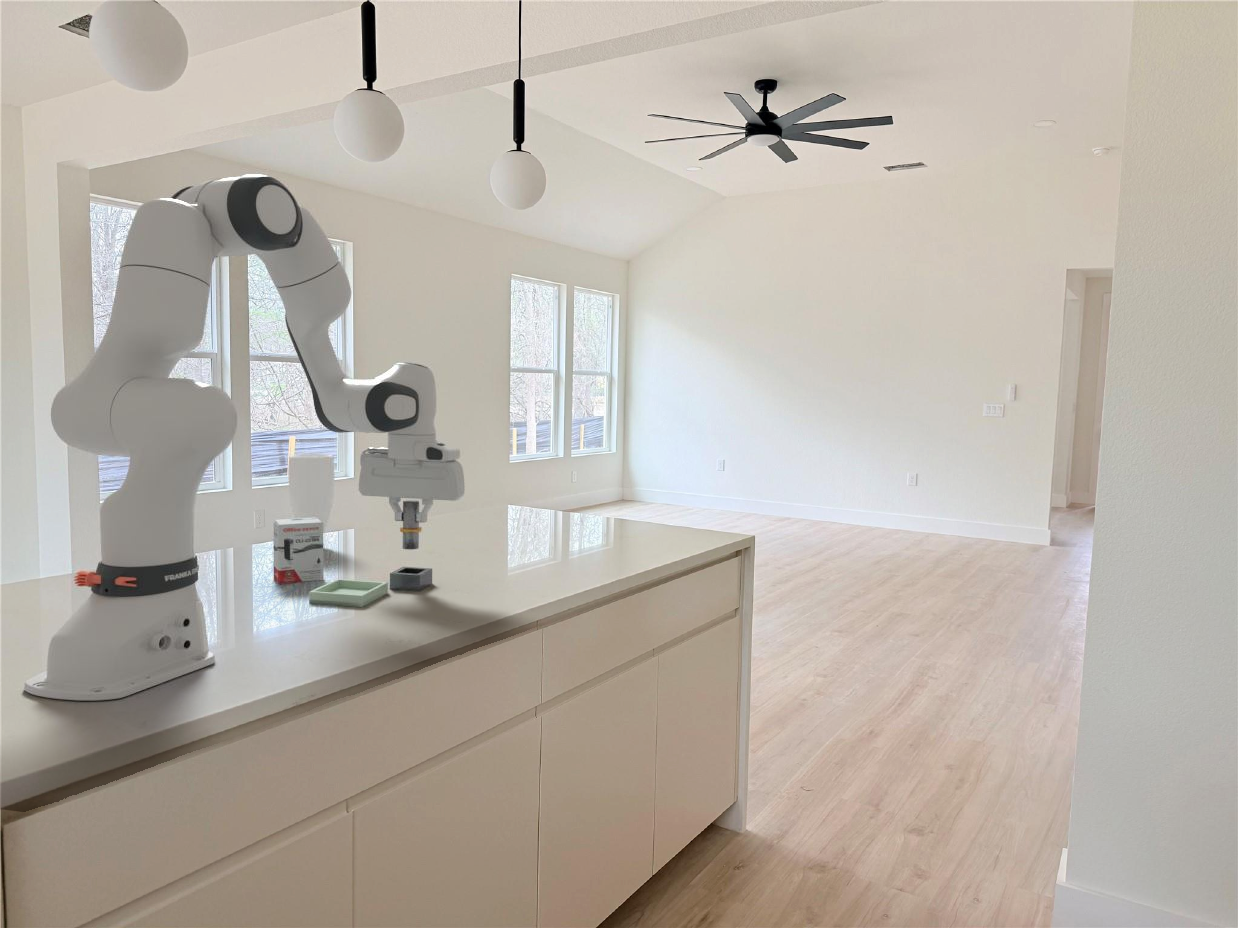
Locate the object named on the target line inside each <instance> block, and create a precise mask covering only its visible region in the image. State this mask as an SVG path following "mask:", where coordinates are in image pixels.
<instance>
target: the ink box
mask: <svg viewBox="0 0 1238 928" xmlns="http://www.w3.org/2000/svg"><path fill="white" fill-rule="evenodd" d="M273 580H275V582H276V583H277V584H279V585H282V584H293V583H295V584H296V583H302V582H312V581H313V582H315V581H323V580H324V533H323V522H322V521H321V520H320V519H318V518H316V517H312V518H297V519H295V518H284V519H282V518H281V519H275V520H274V521H273Z"/></svg>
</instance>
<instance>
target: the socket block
mask: <svg viewBox="0 0 1238 928" xmlns="http://www.w3.org/2000/svg"><path fill="white" fill-rule="evenodd" d="M432 584H433V568H429V567H428V568H427V567H414V566H413V567H412V566H401V567H400V568H397V569H396V570H393V571H391V572H390V573H389V589H390V590H402V591H414V592H416V591H417V592H421V591H422V590H424V589H427V588H428V587H429V586H431V585H432Z"/></svg>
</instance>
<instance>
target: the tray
mask: <svg viewBox="0 0 1238 928" xmlns="http://www.w3.org/2000/svg"><path fill="white" fill-rule="evenodd" d="M388 585H389V583H388V581H387V582H386V581H384V582H383V581H373V580H358V579H357V580H356V579H342V578H336V579H334V580H332V581H330V582H328V583H325V584H324V585H321V586H319V587H316V588H314V589H312V590H310V591H309V592H308V595H309V596H308V602H309V604H317V605H319V604H320V605H331V606H341V607H342V606H344V607H345V606H346V607H358V608H363V607H365V606H366V605H368V604H370V603H373V602H374V601H376V600H377V599H379V598H381V597H383V596H385V595H387V594H389V586H388Z"/></svg>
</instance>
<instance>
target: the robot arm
mask: <svg viewBox="0 0 1238 928" xmlns="http://www.w3.org/2000/svg"><path fill="white" fill-rule="evenodd" d="M249 255H250V256H251V255H255V256H257V257H258V258H259V259H260V260H261V261H262V263H263V264H264V266H265V269H266V271H267V273H268V275H269V277H270V279H271V281H272V284H273V285H274V287H275V288H276V290H277V293H278V295H279V297H280V298H281V301H282V304H283V307H284V310H285V314H284V319H285V325H286V328H287V329H286V330H287V332H288V334H289V335H288V336H289V337H290V340H291V343H292V345H293V347H294V350H295V352H296V355H297V357H298V360H299V361H300V364H301V366H302V369H303V372H304V374H305V376H306V378H307V379H306V380H307V382H308V383H309V387H310V390H311V395H312V400H313V406H314V411H315V415H316V416H317V419H318V420H319V422H320V424H322V425H323V426H324V428H325V429H327V430H329V431H330V432H333V433H341V434H342V433H355V432H357V433H367V434H368V433H372V434H373V433H374V434H386V433H387V447H368V448H367V449H365V450H363V451H362V452H361V454H360V457H359V459H360V463H359V464H360V470H359V471H360V473H359V479H358V491H359V493H360V494H361V496H365V497H367V496H368V497H382V498H383V497H385V498H388V503H389V505H390V507H391V509H392V511H393V513H394V521H395V522H403V509H402V508H401V506H400V504H399V503H400V502H401V499H417V500H418V499H420V500H421V504H422V505H424V506H423V507H422V509H421V511H419V513H416V517H417V519H416V521H417V522H419V523H422V524H423V523H427V522H428V513H429V511H430V509H432V506H433V505H434V500H436V501H452V502H453V501H458V500H461V499H462V498H463V497H464V495H465V476H464V475H465V474H464V469H463V465H462V464H461V462H459V461H458V460H459V459H460V458H461V451H460V449H459V448H458V447H455V446H452V445H450V444H448V443H445V442H442V441H439V440H437V439H436V438H437V437H436V436H437V435H436V434H437V432H436V428H435V417H436V414H437V388H436V386H437V385H436V382H435V381H436V380H435V376H434V373H433V371H432V369H430V368H429V367H427V366H425V365H422V364H419V363H413V362H406V361H405V362H403V361H402V362H401V361H400V362H395V363H393V364H392V366H391V368H390V369H389V370H387V371H386V372H384V373H383V374H381V375H378V376H375V377H373V379H369V378H368V379H358V378H357V379H354V378H353V377H350V376H349V375H347V374H346V373H345V372H344V371H343V369H342V368H341V365H340V363H339V360H338V357H337V354H336V353H335V350H334V349H335V348H334V347H333V344H332V342H331V339H330V337H329V328H330V326H331V324H332V323H334V322H335V321H337V320H338V319H339V318H340V317H342V315H343V314H345V312H346V310H347V309H348V307H349V304H350V301H351V298H352V289H351V288H352V287H351V284H350V280H349V277H348V275H347V273H346V270H345V268H344V265H342V262H341V260H340V258H339V256H338V254H337V252H336V251H335V249H334V247H333V245H332V243H331V242H330V240H329V237H327V235H326V233H325V232H324V230H323V229H322V227H321V225H320V224H319V223H318V222H317V220H316V219H315V217H314V216H313V214H312V213H311V212H310V211H309V209H307V208H306V207H304V206H302V205H300V204H298V202H297V199H296V198H295V196H294V195H293V194H292V192H291V191H290V190H289V188H288V187H286V186H285V185H284V184H283V183H282V182H281V181H279V180H278V179H276V178H274V177H272V176H268V175H264V174H249V173H248V174H244V175H241V176H236V177H235V176H234V177H227V178H213V179H211V180H207V181H204V182H200V183H199V184H196V185H191V186H186V187H184V188H181V189H180V190H178V191H176V193H174V194H173V195H172V196H170V198H168V197H167V198H163V197H161V198H154V199H150V200H147V201H145V202H144V203H142V204H141V205H140V206H139V207H138V209H137V210H136V211H135V215H134V217H133V219H132V222H131V224H130V227H129V231H128V232H127V236H126V239H125V243H124V247H123V250H122V254H121V259H120V263H119V264H120V265H119V271H118V274H117V275H118V276H117V282H116V288H115V293H114V294H115V295H114V298H113V305H112V308H111V312H110V313H111V314H110V319H109V322H108V326H107V328H106V331H105V333H104V335H103V338H102V340H101V342H100V343H99V345H98V347H97V349H96V351H95V352H94V354H93V356H92V357H91V359H90V360H89V362H88V364H86V366H85V367H84V368H83V370H82V371H81V372H80V373H79V374H78V375H77V377H75V378H74V379H73V380H72V381H70V382H68V383H67V384H66V385H64V386H62V388H61V389H60V390H59V391H57V393H56V394H55V397H54V398H53V401H52V404H51V409H50V420H51V424H52V428H53V430H54V432H55V433H56V436H58V438H59V439H60V440H61V441H62V442H63V443H65V444H66V445H68V446H71V447H72V448H75V449H79V450H81V451H85V452H87V453H91V454H94V455H97V456H102V457H103V456H104V457H120V458H129V465H128V470H127V473H126V475H125V479H124V480H123V483H122V485H121V486H120V487H119V489H117V490H115V491H114V492H111V494H109V495H108V496H107V497H105V499H104V500H103V502H102V504H101V506H100V509H99V522H100V523H99V524H100V528H99V529H100V553H101V554H100V555H101V558H100V560H99V562H98V564H97V567H96V570H95V571H90V572H89V571H86V570H79V571H77V573H76V575H74V579H73V581H74V584H75V585H76V586H77V587H88V588H90V591H91V594H90V595H89V596H88V598H87V599H86V600H85V601H84V602H83V603H82V604H81V606H80V607H79V608H78V609H77V610H76V611H75V612H73V614H72V615H71V616H70V617H69V619H68V620H67V621H66V622H65V623H64V624H63V625H62V626H61V627H60V628H59V629H58V630H57V631H56V633H54V635H52V637H51V639H50V642H49V646H48V650H47V659H46V660H47V661H46V663H47V664H46V665H47V666H46V669H45V670H44V671H42V672H40V673H38V674H36V675H34V676H32V677H31V678H29V679H27V680H25V681H24V687H23V688H24V691H25V692H27V693H29V694H31V695H34V696H38V697H43V698H47V699H55V700H56V699H57V700H69V701H106V700H107V701H108V700H116V699H122V698H124V697H127V696H130V695H133V694H136V693H138V692H141V691H143V690H146V689H148V688H152V687H154V686H157V685H160V684H162V683H165V682H167V681H170V680H173V679H176V678H178V677H181V676H184V675H186V674H189V673H191V672H194V671H197V670H200V669H203V668H205V667H208V666H210V665H213V664H215V663H216V658H215V654H214V653H213V652H212V651H210V649H209V642H208V641H209V639H208V634H207V633H208V632H207V623H206V616H205V611H204V605H203V602H202V600H201V598H200V596H199V593H198V591H197V587H196V583H197V582H198V581H199V570H200V569H199V568H200V567H199V566H200V565H199V562H198V556H197V555H196V554H195V545H194V544H195V539H194V537H195V535H194V533H195V532H194V531H195V506H196V505H195V504H196V498H197V495H198V490H199V487H200V485H201V483H202V482H201V481H202V480H203V477H204V475H205V474H206V471H208V468H209V467H210V466H211V464H212V463H213V461H214V460H215V459H216V458H217V457H218V456H220V455H221V454H222V453H223V452H224V451H226V450H227V449H228V448H229V446H230V445H231V443H233V440H234V439H235V436H236V433H237V429H238V414H237V410H236V406H235V404H234V402H233V400H232V399H231V397H230V395H229V394H228V393H227V392H226V391H225V390H224V389H222V388H221V387H219V386H216V385H213V384H212V385H211V384H209V383H205V382H202V381H198V380H194V379H190V378H185V377H184V378H183V377H177V378H176V377H169V376H170V375H171V373H172V371H173V369H174V368H175V367H176V365H177V364H178V363H179V361H180V360H181V359H182V358H184V357H185V356H187V355H188V354H189V353H191V352H192V351H194V350H195V349H196V348H197V347H198V346H199V345H200V343H201V342H202V340H203V336H204V334H205V333H204V332H205V325H206V319H207V313H208V312H207V311H208V304H209V297H210V291H211V282H212V275H213V273H212V270H213V263H214V261H215V260H216V258H219V257H222V258H224V257H245V256H249Z"/></svg>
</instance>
